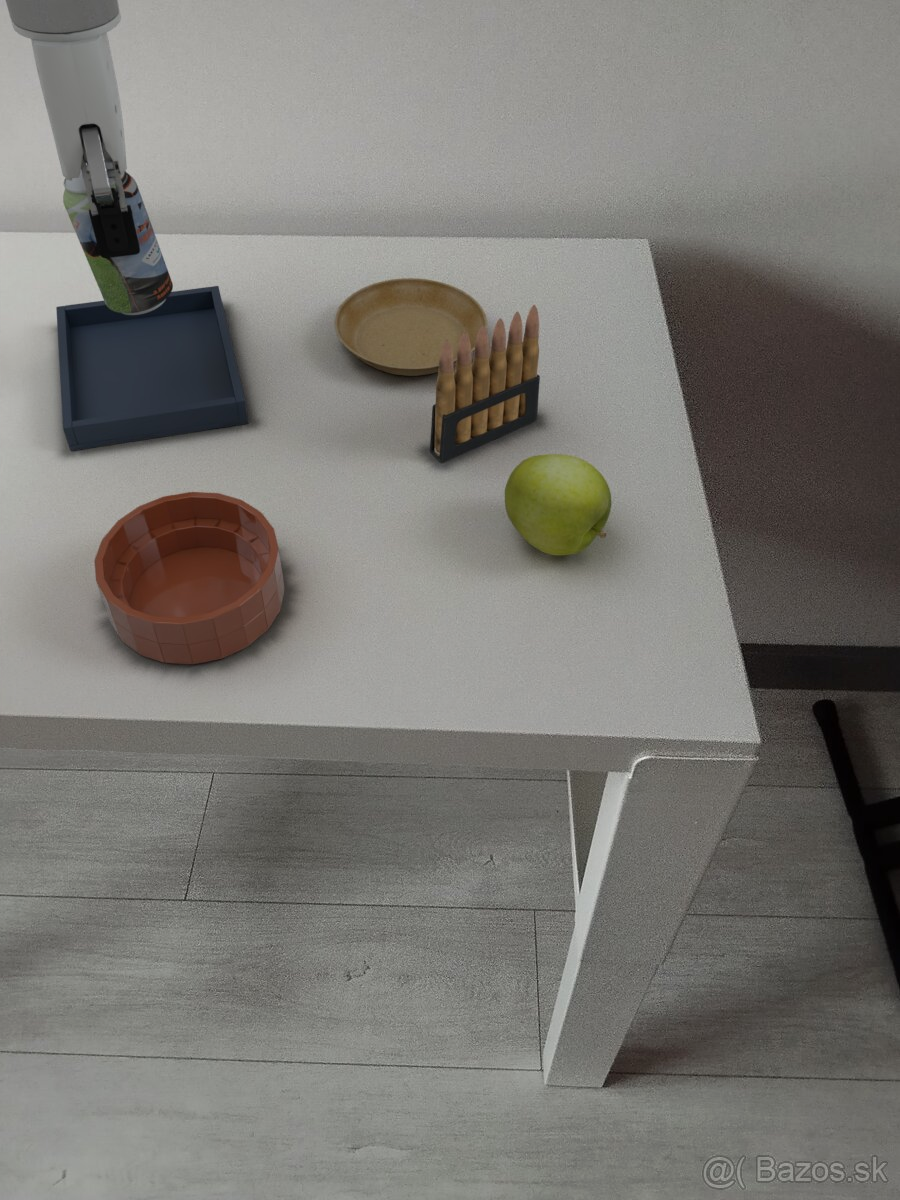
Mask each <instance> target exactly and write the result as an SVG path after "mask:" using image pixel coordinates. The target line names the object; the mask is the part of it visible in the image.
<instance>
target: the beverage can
mask: <svg viewBox="0 0 900 1200" xmlns="http://www.w3.org/2000/svg"><path fill="white" fill-rule="evenodd" d="M105 162H106V167H107V169H112V168H113V163H112V162H107V161H105ZM86 166H87V170H88V171H89V166H88V165H87V164H86ZM120 176H121V180H122V185H123V190H124V194H125V199H126V204H127V205H130V206H131V211H132V215H133V220H134V224H135V228H136V233H137V237H138V242H139V246H140V252H139V253H138V254H136V255H128V256H120V257H112V258H102V257H101V256H100V254H99V250H98V246H97V242H96V238H95V234H94V230H93V226H92V223H91V219H90V215H89V210H91V209H90V205H89V200H88V196H87V192H86V187H85V183H84V179H83V177H82V170H80V175H79V177H78V178H73V179H72V180H68V179H66V178H65V177H64V180H63V187H64V191H63V196H62V203H63V206H64V208H65V211H66V213H67V216H68V217H69V220H70V222H71V225H72V227H73V229H74V230H73V231H74V232H75V235H76V237H77V239H78V242H79V244H80V247H81V249H82V251H83V253H84V255H85V258H86V260H87V264H88V266H89V268H90V270H91V272H92V275H93V277H94V279H95V282H96V284H97V287H98V289H99V291H100V294H101V295H102V298H103V301H105V304H106V306H107V307H108V308H109V309H111V310H112V311H115V312H119V313H123V314H126V315H139V314H144V313H147V312H150V311H152V310H154V309H156V308H158V307H159V306H161V305H162V304H163V303H164V302H165V300H166V298H167V297H168V296H169V295H170V294H171V292H173V288H174V286H173V285H174V284H173V281H172V278H171V275H170V273H169V270H168V267H167V264H166V261H165V258H164V256H163V253H162V250H161V247H160V245H159V241H158V239H157V236H156V233H155V230H154V228H153V225H152V223H151V219H150V216H149V214H148V211H147V209H146V205H145V202H144V199H143V197H142V194H141V192H140V189H139V186H138V183H137V181H136V180H135V178H134V177H133V176H132V175H131V174H129V172H127V171H126V172H124V173H123V174H122V175H121V174H120ZM109 182H110V185H111V188H115V190H116V187H115V182H114V178H109ZM116 192H117V191H116Z"/></svg>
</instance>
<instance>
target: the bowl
mask: <svg viewBox="0 0 900 1200" xmlns="http://www.w3.org/2000/svg"><path fill="white" fill-rule="evenodd" d="M93 563H94V573H95V575H94V576H95V582H96V586H97V588H98V591H99V593H100V596H101V599H102V602H103V605H104V607H105V610H106V613H107V617H108V619H109V622H110V624H111V626H112V628H113V630H114V631H115V632H116V635H117V637H118V638H119V639H120V641H121V642H123V643H124V644H125V645H127V646H128V648H131V649H132V650H133V651H135V652H136V653H137V654H138V655H140V656H143V657H146V658H149V659H151V660H155V661H157V662H161V663H163V664H165V663H166V664H179V665H180V664H181V665H182V664H183V665H197V664H202V663H207V662H211V661H218V660H222V659H225V658H227V657H229V656H231V655H233V654H235V653H237V652H240V651H242V650H244V649H246V648H248V647H249V646H250V645H252V644H253V643H254V642H256V641H257V639H259V638H260V637H261V636H262V635H264V634H265V633H266V632H267V631H268V630H269V629H270V627H271V626H272V624H273V623H274V621H275V620H276V618H277V617H278V615H279V614H280V612H281V610H282V606H283V600H284V594H285V589H286V588H285V582H284V575H283V569H282V561H281V555H280V548H279V544H278V540H277V535H276V531H275V528H274V527H273V525H272V524H271V523H270V522H269V520H268V518H266V516H265V515H264V513H262V512H261V511H260V510H258V509H257V508H256V507H254V506H253V505H250V504H249V503H247V501H244V500H242V499H240V498H236V497H234V496H231V495H226V494H223V493H219V492H203V491H188V492H183V493H176V494H171V495H165V496H161V497H158V498H156V499H154V500H151V501H148V502H146V503H143V504H140V505H138V506H136V507H135V508H134V509H132V510H131V511H130V512H128V513H127V514H125V515H124V516H123V517H121V518H120V519H118V520H117V521H116V522H115V524H113V526H112V527H111V528H110V529H109V530H108V532H107V533H106V534H105V535H104V537H103V538H102V539H101V541H100V544H99V547H98V549H97V552H96V555H95V558H94V562H93Z"/></svg>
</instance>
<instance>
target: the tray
mask: <svg viewBox="0 0 900 1200" xmlns="http://www.w3.org/2000/svg"><path fill="white" fill-rule="evenodd" d="M55 310H56V327H57V328H56V329H57V344H58V345H57V346H58V347H57V348H58V362H59V365H58V366H59V380H60V381H59V382H60V399H61V416H62V417H61V418H62V430H63V433H64V436H65V439H66V441H67V445H68V448H69V451H71V452H74V451H79V450H80V451H81V450H87V449H92V448H93V449H94V448H100V447H105V446H112V445H118V444H125V443H126V444H127V443H131V442H138V441H144V440H151V439H157V438H163V437H170V436H177V435H183V434H189V433H197V432H201V431H209V430H215V429H221V428H228V427H234V426H241V425H246V424H249V416H248V409H247V404H246V399H245V394H244V390H243V386H242V380H241V376H240V373H239V368H238V364H237V360H236V355H235V351H234V346H233V343H232V338H231V332H230V330H229V325H228V321H227V316H226V313H225V312H226V311H225V308H224V305H223V299H222V295H221V291H220V287H219V285H214V286H213V285H212V286H205V287H198V288H190V289H189V288H188V289H181V290H173V291H172V292H171V294H170V295H169V296H168V297H167V298H166V300H165V302H164V303H163V304H162V305H161V306H159V307H158V308H156V309H154V310H152V311H150V312H147V313H144V314H139V315H126V314H123V313H119V312H115V311H112V310H111V309H109V308H108V307H107V306H106V304H105V301H104V300H97V301H90V302H89V301H88V302H82V303H74V304H66V305H59V306H56V308H55Z"/></svg>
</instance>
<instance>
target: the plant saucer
mask: <svg viewBox="0 0 900 1200" xmlns="http://www.w3.org/2000/svg"><path fill="white" fill-rule="evenodd" d="M333 325H334V331H335V333H336V336H337V337H338V339H339V341H340V343H342V345H343V346H344V347H345V348H346V349H347V350H348V351H349V352H350V353H351V354H352V355H353V356H354V357H356V358H357V359H359V360H360V361H361V362H362V363H365V364H366V365H368V366H370V367H373V368H374V369H377V370H379V371H382V372H384V373H387V374H391V375H395V376H396V375H397V376H406V377H407V376H408V377H414V376H416V377H418V376H426V375H431V374H435V373H438V369H439V359H440V353H441V349H442V346H443V343H444V342H445V340H446V339H448V340H449V342H450V344H451V348H452V352H453V361H454V366H456V361H457V352H458V346H459V342H460V339H461V337H462V335H463V333H464V332H466V333H467V334H468V337H469V340H470V345H471V354H472V353H473V352H475V343H476V338H477V335H478V332H479V330H480V328H481V326H482V325H484V326H485V327H486V330H487V331H488V318H487V314H486V312H485V310H484V308H483V307H482V306H481V304H480V303H479V302H478V300H476V299H475V298H474V297H473V296H471V295H470V294H469V293H467V292H465V291H464V290H462V289H460V288H458V287H456V286H454V285H451V284H449V283H445V282H442V281H437V280H433V279H427V278H420V277H419V278H417V277H416V278H415V277H411V278H410V277H408V278H405V277H403V278H393V279H386V280H382V281H378V282H374V283H372V284H368V285H366V286H364V287H362V288H360V289H358V290H357V291H355V292H353V293H352V294H351V295H349V296H347V298H346V299H345V300H344V301H342V302H341V304H340V305H339V307H338V308H337V310H336V313H335V316H334V324H333Z"/></svg>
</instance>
